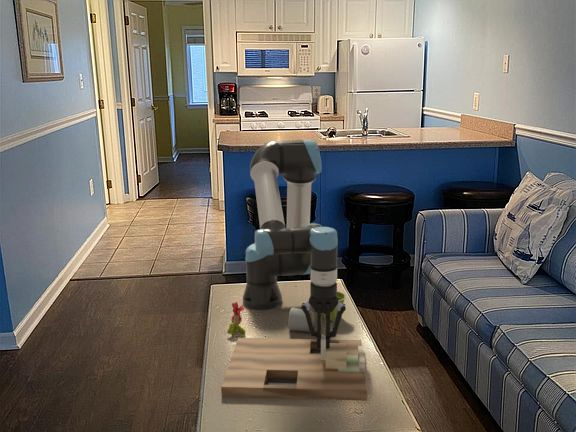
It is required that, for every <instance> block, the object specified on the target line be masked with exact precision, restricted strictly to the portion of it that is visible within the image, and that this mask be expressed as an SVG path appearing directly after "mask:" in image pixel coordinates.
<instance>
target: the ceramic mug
mask: <svg viewBox="0 0 576 432" xmlns="http://www.w3.org/2000/svg"><path fill="white" fill-rule="evenodd" d="M310 314H311V317H312V321H313V325H314V326H315V320H316V319H315V311H312V310H310ZM287 319H288V320H287V327H288V330H289V331H296V332H305V333H308V332H309V333H310V331H309V327H308V323H307V319H306V316H305V313H304V312H303V310H302V309H301V308H297V307H291V308H290V310H289V313H288V318H287Z"/></svg>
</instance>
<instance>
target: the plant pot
mask: <svg viewBox="0 0 576 432" xmlns="http://www.w3.org/2000/svg"><path fill="white" fill-rule="evenodd" d="M346 297H347V296H346V294H345V293H344V292H341V291H338V290H337V298H338V300H339V302H340V303H342V304H344V302H345V299H346ZM337 311H338V310H337V306H336V307H335V308H334V310H333V311H332V312H331V313H330V322H335V319H336V315H337ZM323 317H324V320H325V321H326V314H325V313H323Z"/></svg>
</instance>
